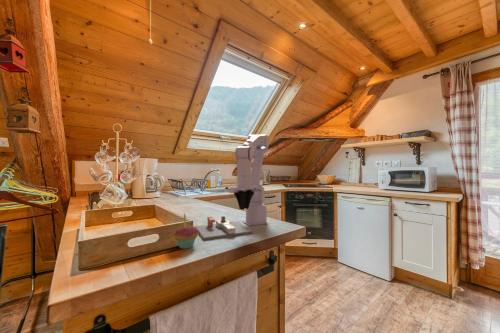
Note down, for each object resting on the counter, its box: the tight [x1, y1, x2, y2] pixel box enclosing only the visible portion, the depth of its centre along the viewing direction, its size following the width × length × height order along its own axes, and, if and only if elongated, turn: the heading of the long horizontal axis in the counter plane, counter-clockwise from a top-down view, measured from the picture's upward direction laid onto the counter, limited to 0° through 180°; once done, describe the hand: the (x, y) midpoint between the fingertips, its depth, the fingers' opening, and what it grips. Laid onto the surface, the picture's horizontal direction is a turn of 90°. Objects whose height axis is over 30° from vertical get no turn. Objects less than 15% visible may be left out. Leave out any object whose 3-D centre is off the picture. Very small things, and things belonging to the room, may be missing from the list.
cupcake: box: [174, 212, 199, 249], centre depth 80 cm, size 9×8×12 cm
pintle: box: [220, 215, 226, 222], centre depth 100 cm, size 2×2×4 cm
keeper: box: [206, 215, 216, 227], centre depth 99 cm, size 2×5×5 cm, turn 24°
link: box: [215, 218, 235, 234], centre depth 96 cm, size 14×5×2 cm, turn 24°
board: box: [194, 220, 254, 241], centre depth 97 cm, size 20×16×1 cm
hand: (244, 209), depth 94 cm, fingers closed
